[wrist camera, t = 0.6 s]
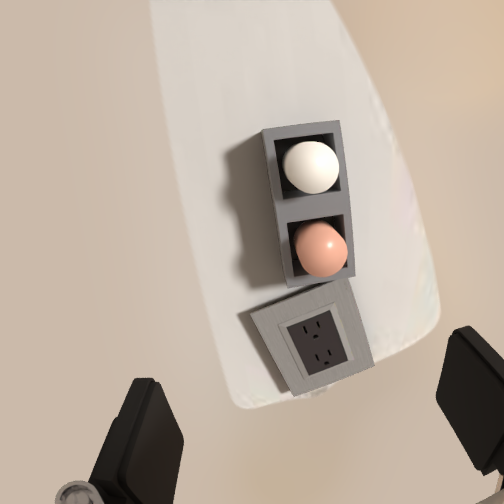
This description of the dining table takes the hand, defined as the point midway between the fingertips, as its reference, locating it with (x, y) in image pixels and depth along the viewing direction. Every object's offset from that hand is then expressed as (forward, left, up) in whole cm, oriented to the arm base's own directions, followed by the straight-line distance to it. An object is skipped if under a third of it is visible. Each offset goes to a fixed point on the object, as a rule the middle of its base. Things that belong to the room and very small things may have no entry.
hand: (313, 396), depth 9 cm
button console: (-1, +4, -23) cm, 24 cm away
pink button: (+2, +4, -21) cm, 22 cm away
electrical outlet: (+14, +3, -24) cm, 28 cm away
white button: (-5, +4, -21) cm, 22 cm away
